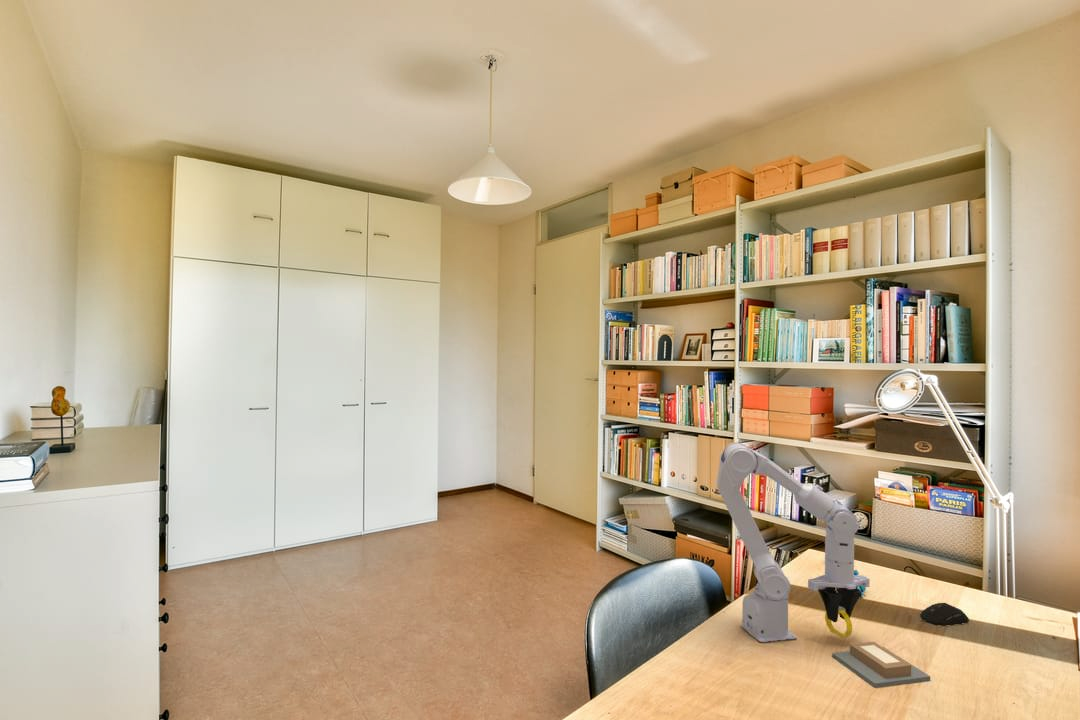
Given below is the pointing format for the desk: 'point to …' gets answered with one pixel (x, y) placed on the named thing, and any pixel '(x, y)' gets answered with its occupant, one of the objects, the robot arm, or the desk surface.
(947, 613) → the gaming mouse
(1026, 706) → the desk surface
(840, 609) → the watch
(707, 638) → the desk surface
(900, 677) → the base board
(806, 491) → the robot arm
